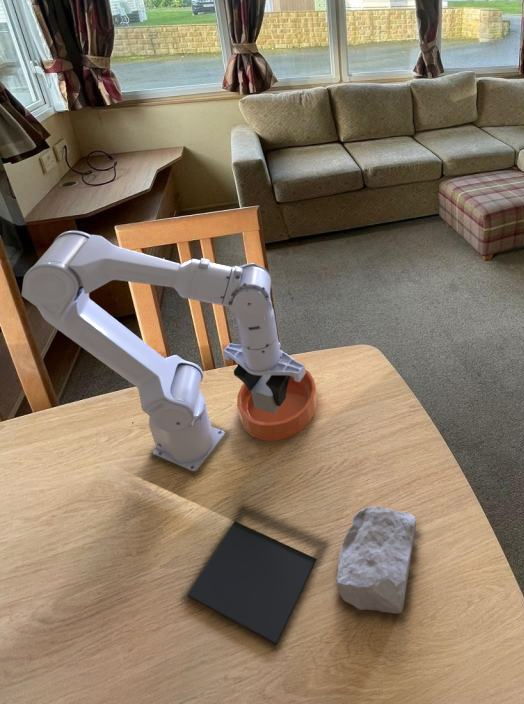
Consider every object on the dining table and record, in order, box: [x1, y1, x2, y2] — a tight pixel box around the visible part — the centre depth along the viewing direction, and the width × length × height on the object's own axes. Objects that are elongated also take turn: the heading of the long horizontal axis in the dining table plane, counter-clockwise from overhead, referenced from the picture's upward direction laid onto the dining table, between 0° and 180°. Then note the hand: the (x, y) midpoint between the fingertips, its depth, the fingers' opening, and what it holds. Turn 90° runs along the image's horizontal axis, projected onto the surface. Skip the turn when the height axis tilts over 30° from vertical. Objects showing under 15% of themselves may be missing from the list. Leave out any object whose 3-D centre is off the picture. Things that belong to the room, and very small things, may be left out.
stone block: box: [336, 505, 417, 615], centre depth 67 cm, size 12×5×10 cm
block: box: [251, 375, 287, 414], centre depth 83 cm, size 4×4×4 cm
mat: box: [187, 520, 317, 645], centre depth 67 cm, size 14×12×1 cm
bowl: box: [236, 368, 318, 442], centre depth 90 cm, size 14×14×4 cm
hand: (270, 397), depth 83 cm, fingers closed on block, 4 cm apart
